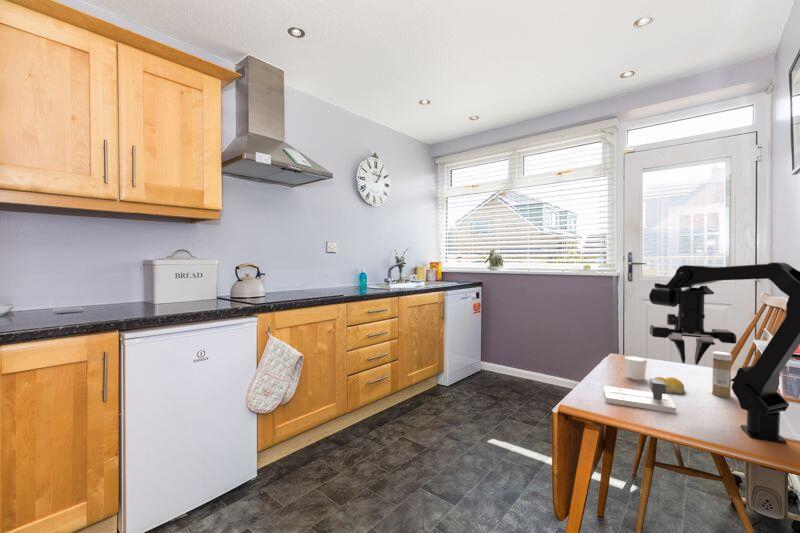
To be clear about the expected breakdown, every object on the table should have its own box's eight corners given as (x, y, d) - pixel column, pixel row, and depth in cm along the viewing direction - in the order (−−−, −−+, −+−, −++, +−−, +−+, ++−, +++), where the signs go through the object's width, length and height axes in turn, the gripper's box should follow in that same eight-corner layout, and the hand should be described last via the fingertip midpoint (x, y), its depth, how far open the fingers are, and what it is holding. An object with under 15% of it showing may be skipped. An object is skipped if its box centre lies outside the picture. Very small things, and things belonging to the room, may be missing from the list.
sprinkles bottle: (732, 395, 115) (734, 353, 115) (727, 398, 112) (729, 355, 112) (714, 391, 119) (715, 350, 118) (709, 394, 116) (710, 352, 116)
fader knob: (665, 401, 106) (665, 384, 106) (652, 399, 107) (652, 382, 107) (662, 395, 110) (662, 380, 109) (649, 394, 111) (649, 378, 111)
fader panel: (676, 413, 102) (676, 407, 102) (606, 402, 109) (606, 397, 109) (667, 399, 112) (667, 394, 112) (603, 390, 119) (603, 385, 119)
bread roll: (647, 384, 126) (647, 372, 126) (677, 387, 123) (678, 375, 123) (656, 392, 118) (656, 380, 118) (689, 396, 115) (689, 383, 115)
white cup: (627, 379, 130) (627, 359, 130) (621, 373, 137) (621, 354, 136) (649, 381, 128) (649, 361, 128) (642, 375, 135) (643, 356, 134)
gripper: (723, 307, 107) (721, 360, 108) (647, 303, 116) (646, 353, 116) (738, 312, 97) (736, 371, 98) (653, 308, 106) (652, 362, 106)
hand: (689, 363), depth 105 cm, fingers open, 3 cm apart
